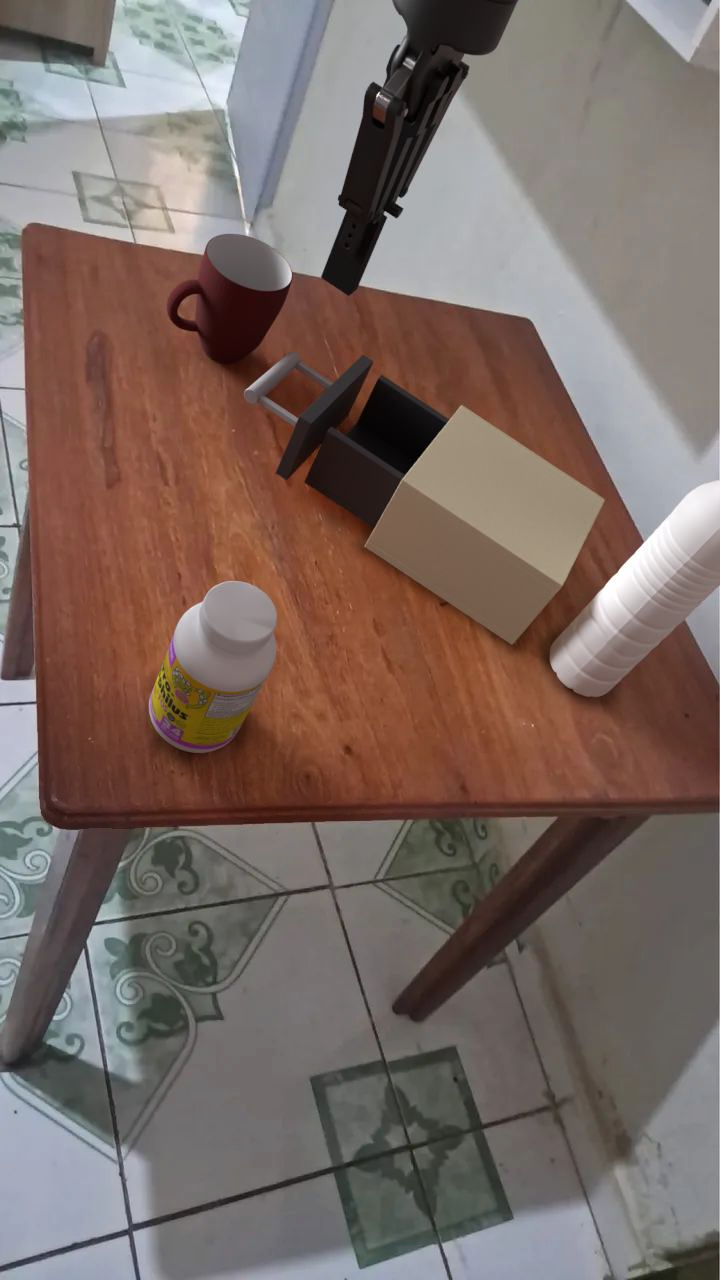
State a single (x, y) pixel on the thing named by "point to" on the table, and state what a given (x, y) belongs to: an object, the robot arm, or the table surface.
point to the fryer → (486, 525)
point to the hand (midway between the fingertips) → (339, 283)
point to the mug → (234, 296)
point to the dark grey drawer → (352, 436)
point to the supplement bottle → (214, 667)
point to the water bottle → (644, 597)
